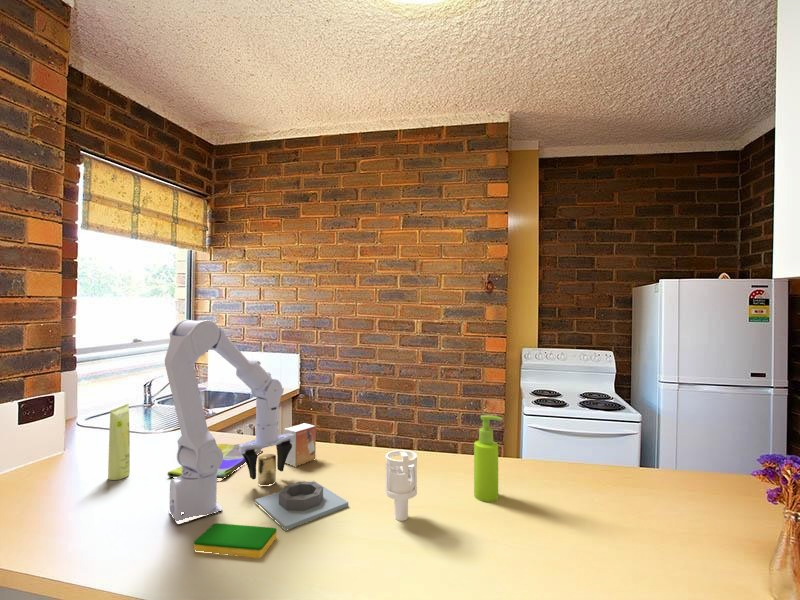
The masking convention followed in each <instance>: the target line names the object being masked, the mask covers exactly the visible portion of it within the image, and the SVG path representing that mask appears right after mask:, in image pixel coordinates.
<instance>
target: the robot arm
mask: <svg viewBox="0 0 800 600" xmlns="http://www.w3.org/2000/svg"><path fill="white" fill-rule="evenodd" d="M169 339H170V340H169V344H168V348H167V351H166V354H165V357H164V367H165V370H166V374H167V378H168V382H169V387H170V391H171V395H172V396H171V397H172V400H173V404H174V409H175V413H176V417H177V421H178V426H179V429H180V434H181V436H180V437H179V438H178V439H177V446H178V448H177V452H176V460H177V463H178V464H179V465H180V467H181V466H182V475H180V476H179V477H177V478H174V479H173V478H171V480H170V482H169V510H170V512H171V514H172V515H173V517H174V519H175V520H176V521H179V520H183V519H185V518H189V517H193V516H199V515H207V514H211V513H214V512H217V511H220V510H222V509H223V507H221V505H220V504H219V503H218V501H217V483H218V482H217V470H218V469H219V467H220V466H221V464H222V461H223V453H222V451H221V449H220V448H219V447H218V446H217V444H218V443H217V441H216V439H215V437H214V436H213V435H212V433H211V432H210V430H209V429H208V424H207V419H206V416H205V410H204V406H203V402H202V398H201V394H200V389H199V385H198V380H197V376H196V372H195V371H196V370H195V367H194V365H195V364H196V362H197V361H198V360H199V358H200V357H201V356H203V355H205V353H206V352H208V351H209V350H213V351H215V352H216V353H218V355H220V356H221V358H223V359H224V360H225V361H227V362H228V363H229V364H230V365H232V366H233V367H234V368H235V370H236V371H235V375H236V376H237V377H236V378H238V379H239V380H241V381H242V382H243V383H244V384H245V385H246V386H247V387H248V388H249V389H250V392H251V395H252V397H255V398H256V399H255V400H256V401H255V406H256V408H255V414H256V415H255V439H253V440H250V441H247V442H244V443H241V444H240V443H239V444H240V445H239V453H241V454H242V455H243V457H244V459H245V461H246V463H247V464H246V466H247V469H248V472H249V478H251V479H252V480H256V478H257V464H258V457H259V455H257V454H255V452H254V450H257V449H261V448H262V449H265V448H268V447H274V446H275V447H276V455H277V456H276V467H277V468H276V469H277V470H278V472H279V471H280V472H283V471H284V469H285V465H286V464H285V462H286V459H287V456H288V454H289V452H290V450H291V448H292V444H291V443H290V442H294V435H293V434H291V433H289V434H284V433H283V434H279V418H280V417H279V414H280V413H279V406H280V404H281V399H282V398H281V397H282V396H283V393H284V391H285V390H284V389H285V388H284V387H283V386H282V383H281V382H280V381H279V380H278V379H276V378H273V377H272V374H271V372H268V371H266V369H264V368H263V367H262V366H261V364H262V362H261V361H259V359H253V358H248V359H247V357H245V355H244V354H243V353H242V352H241V351H240V350H239V349H238V347H237V346H236V345H235V344H234V343H233V342H232V341H231V339H230V338H229V337H228V336H227V335H226V332H225V331H224V330H223V329H222V328H221V327H219V326H218V325H217V324H216V323H215V322H214V321H212V320H208V319H207V320H206V319H205V320H192V319H183V320H181V321H179V322H178V323H177V324H176V325H175V326H174V328H172V330H170V332H169ZM262 449H261V450H262ZM222 511H223V510H222ZM181 512H184V514H182V515H181ZM174 519H173V520H174Z"/></svg>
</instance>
